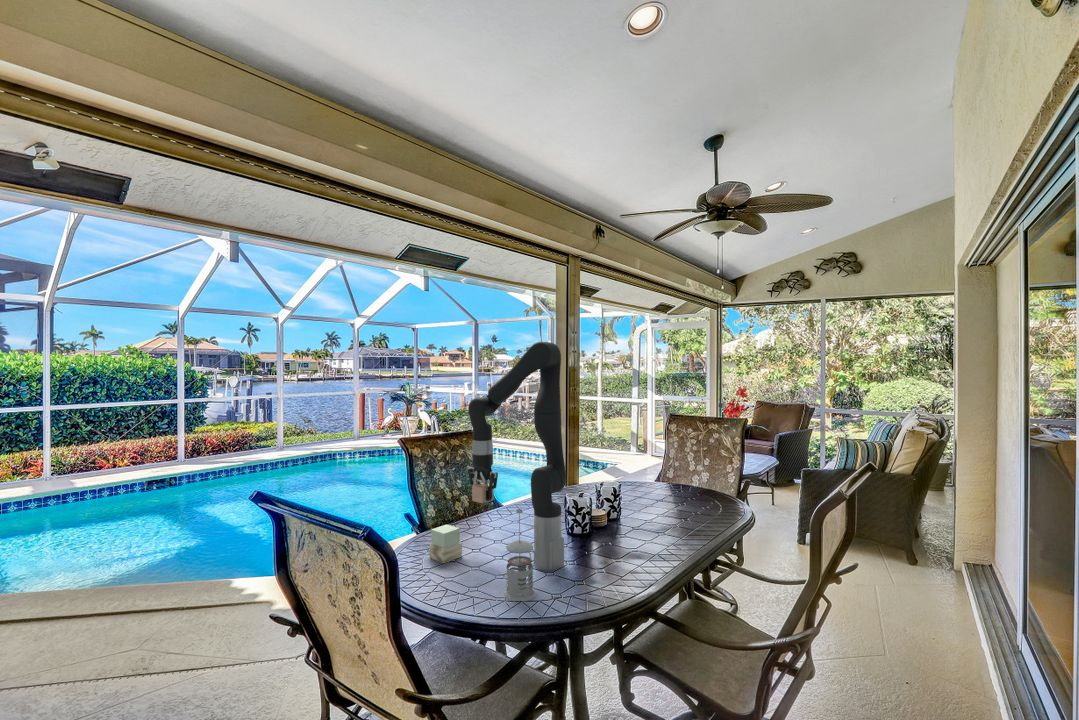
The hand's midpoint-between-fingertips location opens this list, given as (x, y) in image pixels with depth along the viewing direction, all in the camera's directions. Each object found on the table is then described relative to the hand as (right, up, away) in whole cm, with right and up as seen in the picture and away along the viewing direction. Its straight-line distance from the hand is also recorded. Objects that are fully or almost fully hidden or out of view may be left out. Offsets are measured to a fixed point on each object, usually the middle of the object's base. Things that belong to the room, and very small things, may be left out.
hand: (482, 498), depth 177 cm
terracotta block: (0, -1, 0) cm, 1 cm away
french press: (+15, -19, -33) cm, 41 cm away
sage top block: (-13, -14, -5) cm, 20 cm away
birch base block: (-13, -19, -5) cm, 24 cm away
